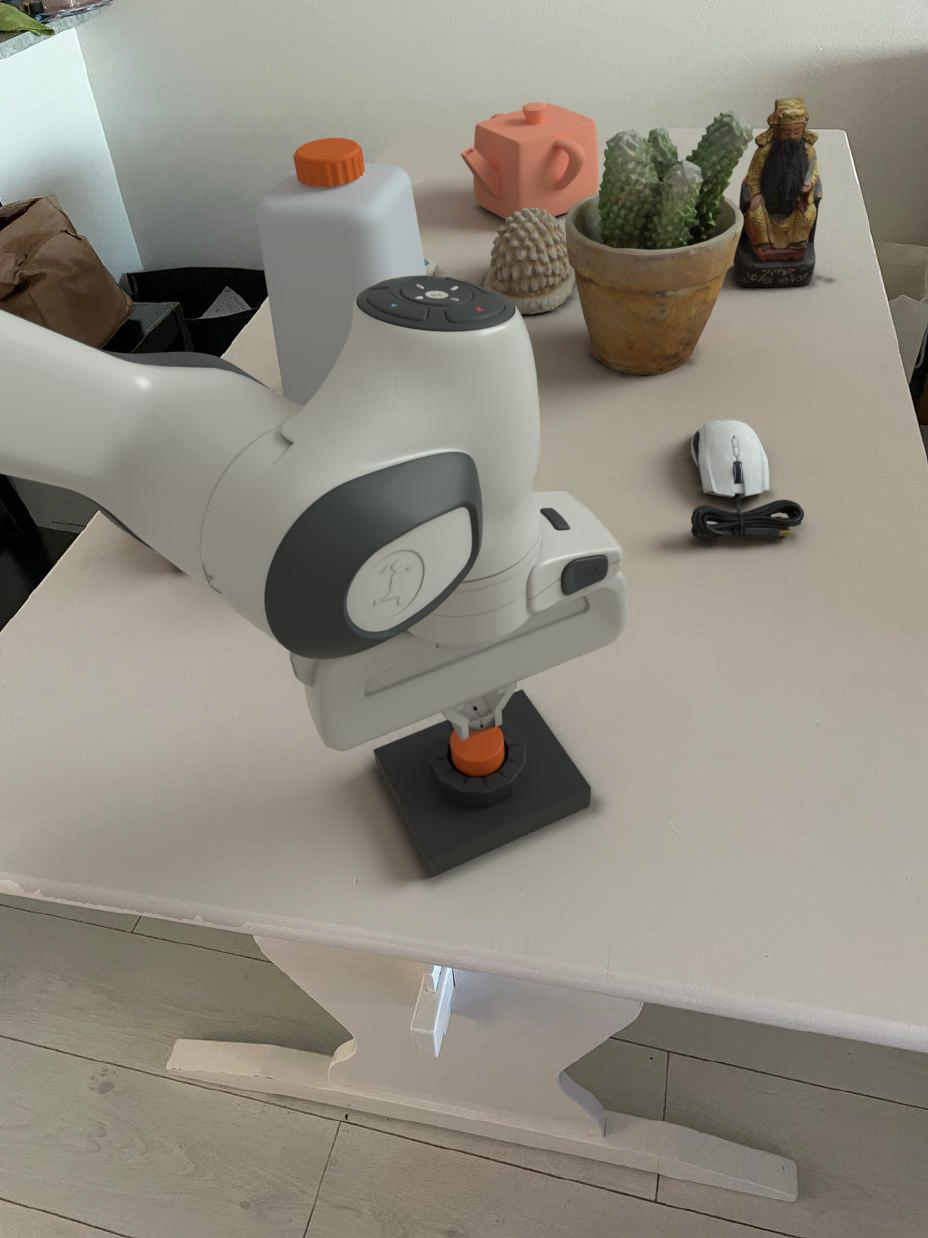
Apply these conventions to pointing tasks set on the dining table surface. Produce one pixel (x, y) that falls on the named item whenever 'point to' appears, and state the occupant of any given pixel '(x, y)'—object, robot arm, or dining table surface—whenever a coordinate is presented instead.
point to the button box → (481, 787)
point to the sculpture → (531, 262)
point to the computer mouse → (736, 484)
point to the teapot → (534, 160)
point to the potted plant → (656, 244)
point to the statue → (780, 203)
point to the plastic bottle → (331, 252)
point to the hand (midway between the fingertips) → (476, 726)
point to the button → (478, 752)
